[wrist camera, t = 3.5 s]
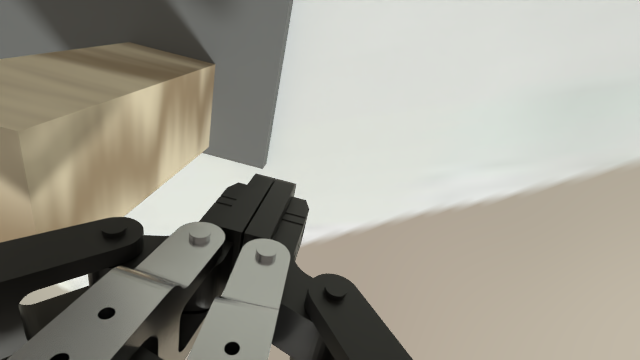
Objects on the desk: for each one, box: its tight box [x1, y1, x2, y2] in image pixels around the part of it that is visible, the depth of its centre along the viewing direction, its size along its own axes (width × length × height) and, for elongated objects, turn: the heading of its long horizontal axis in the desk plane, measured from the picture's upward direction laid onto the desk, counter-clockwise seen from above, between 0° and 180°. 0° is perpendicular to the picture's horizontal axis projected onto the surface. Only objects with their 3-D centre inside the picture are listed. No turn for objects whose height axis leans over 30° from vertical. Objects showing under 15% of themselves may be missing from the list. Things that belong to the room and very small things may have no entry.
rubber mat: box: [0, 0, 293, 169], centre depth 20 cm, size 10×22×1 cm, turn 78°
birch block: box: [0, 42, 215, 242], centre depth 15 cm, size 5×5×12 cm
